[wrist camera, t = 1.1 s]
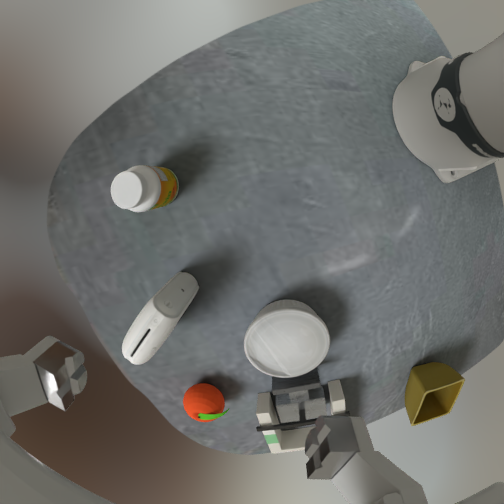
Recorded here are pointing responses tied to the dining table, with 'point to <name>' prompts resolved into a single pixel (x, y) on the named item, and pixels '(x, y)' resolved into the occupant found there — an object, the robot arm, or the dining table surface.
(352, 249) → the dining table surface
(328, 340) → the ramekin
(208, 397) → the red tomato
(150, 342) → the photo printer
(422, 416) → the flower pot
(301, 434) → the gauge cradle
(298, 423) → the grey metal pieces
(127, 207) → the supplement bottle
